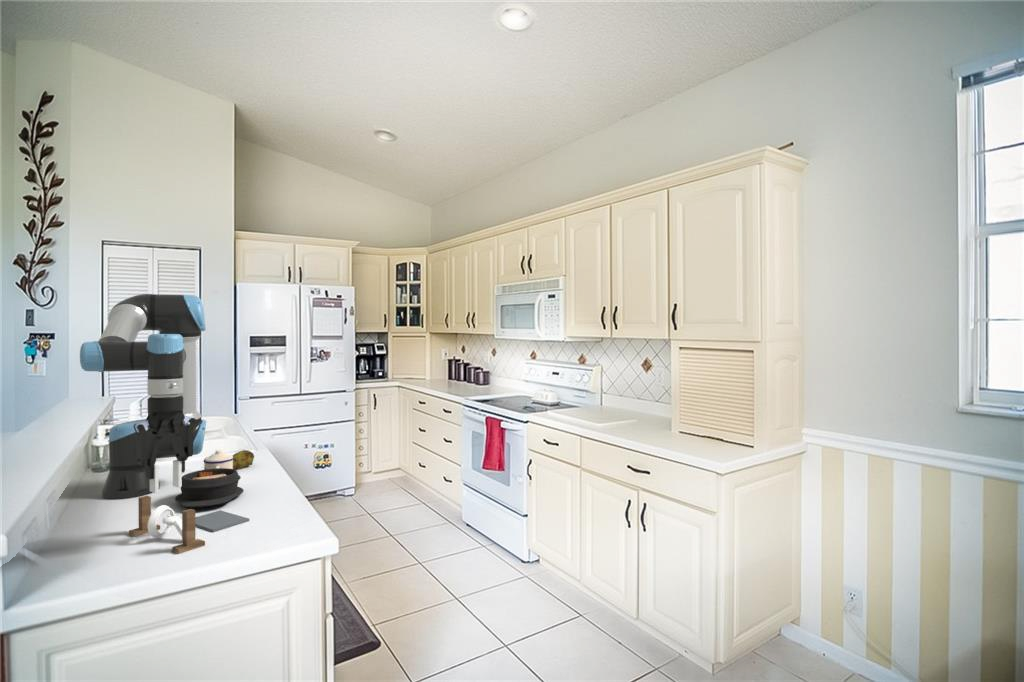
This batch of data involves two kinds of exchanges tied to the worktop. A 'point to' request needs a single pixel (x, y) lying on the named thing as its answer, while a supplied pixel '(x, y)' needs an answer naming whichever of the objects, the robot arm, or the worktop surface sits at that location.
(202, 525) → the mat
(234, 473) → the casserole
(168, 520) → the white vr controller
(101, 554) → the worktop surface
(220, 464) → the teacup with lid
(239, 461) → the potato
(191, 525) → the rack
